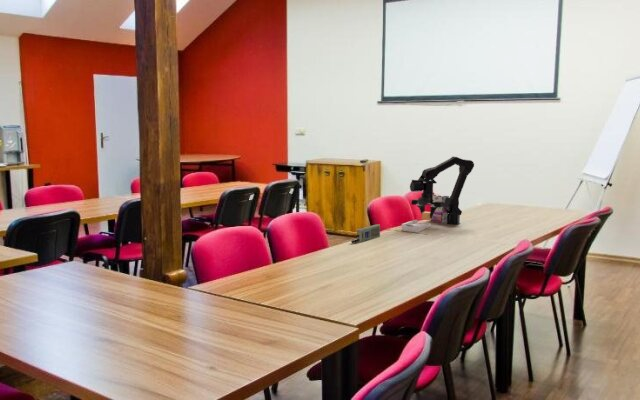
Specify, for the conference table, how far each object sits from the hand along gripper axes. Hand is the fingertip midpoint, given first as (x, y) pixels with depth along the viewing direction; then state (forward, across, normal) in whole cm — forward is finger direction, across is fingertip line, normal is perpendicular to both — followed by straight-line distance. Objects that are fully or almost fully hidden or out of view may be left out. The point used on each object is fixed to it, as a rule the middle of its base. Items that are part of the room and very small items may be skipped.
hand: (427, 217), depth 344 cm
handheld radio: (+5, -7, -56) cm, 57 cm away
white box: (+5, 0, -13) cm, 14 cm away
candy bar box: (+5, 0, +17) cm, 18 cm away
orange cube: (+1, 0, 0) cm, 1 cm away
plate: (+5, 0, 0) cm, 5 cm away
